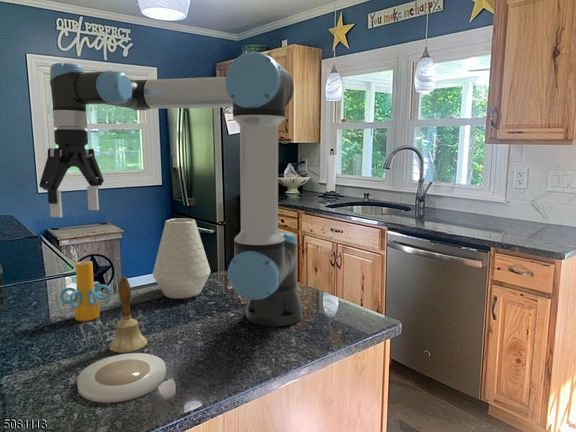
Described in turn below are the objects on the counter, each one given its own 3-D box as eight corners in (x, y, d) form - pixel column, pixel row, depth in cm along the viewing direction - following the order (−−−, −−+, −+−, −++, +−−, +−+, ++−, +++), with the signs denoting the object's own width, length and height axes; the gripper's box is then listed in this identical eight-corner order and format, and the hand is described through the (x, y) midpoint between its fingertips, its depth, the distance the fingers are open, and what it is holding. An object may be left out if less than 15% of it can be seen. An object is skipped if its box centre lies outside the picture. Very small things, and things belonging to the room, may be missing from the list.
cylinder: (90, 328, 109) (86, 270, 107) (53, 324, 111) (49, 267, 109) (118, 311, 121) (115, 258, 119) (85, 308, 123) (81, 256, 121)
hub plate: (180, 364, 91) (180, 357, 90) (137, 408, 75) (136, 399, 75) (112, 356, 94) (111, 349, 94) (57, 395, 79) (57, 387, 78)
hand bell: (124, 356, 94) (121, 285, 92) (101, 347, 99) (97, 278, 96) (155, 342, 101) (152, 275, 99) (131, 334, 106) (128, 270, 103)
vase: (190, 281, 149) (189, 214, 146) (222, 293, 137) (220, 220, 134) (143, 292, 137) (140, 220, 133) (172, 306, 125) (170, 227, 121)
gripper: (90, 131, 122) (95, 206, 125) (16, 126, 98) (24, 219, 101) (114, 131, 120) (118, 207, 123) (45, 125, 96) (52, 221, 99)
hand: (76, 213), depth 112 cm, fingers open, 13 cm apart
